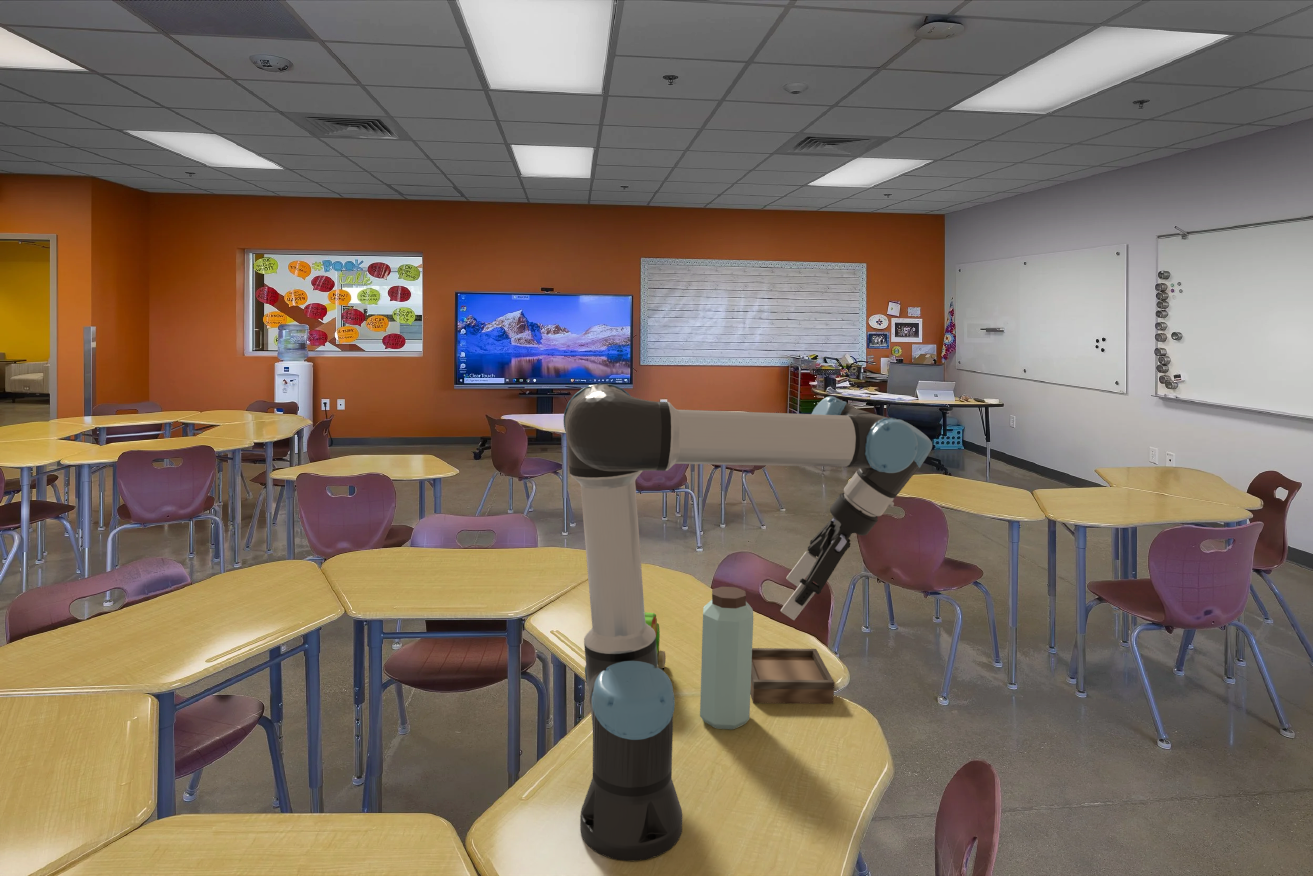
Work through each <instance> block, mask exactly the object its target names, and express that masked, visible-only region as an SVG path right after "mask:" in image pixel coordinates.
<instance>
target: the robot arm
mask: <svg viewBox="0 0 1313 876" xmlns="http://www.w3.org/2000/svg"><path fill="white" fill-rule="evenodd" d="M563 428H564V432H565V435H566V446H567V447H566V448H567V461H568V469H569V471H568V472H569V475H570V478H572V479H573V480H574V481H576V482H577V483H578V484H579V485H580V494H581V496H580V497H581V498H580V499H581V506H582V507H581V508H582V509H581V510H582V519H583V531H584V544H585V555H586V566H587V579H588V581H587V582H588V591H589V593H588V594H589V605H590V616H591V626H592V627H591V629H590V630H588V632H587V633H586V634H585V635H584V638H583V643H584V644H583V645H584V657H585V667H584V674H585V675H584V677H585V683H586V685H587V690H588V697H589V705H590V715H591V721H592V779H591V781H590V783H589V786H588V790H587V792H586V795H585V798H584V801H583V803H582V805H581V806H582V807H581V809H580V816H579V818H580V822H579V826H580V827H579V828H580V829H579V830H580V835H581V837H582V839H583V841H584V842H585V844H586V845H587V846H588V847H589V848H590V849H591V850H593V851H594V852H595V853H597V854H600V855H601V856H604V857H606V858H610V859H614V860H618V861H627V862H629V861H630V862H631V861H632V862H634V861H644V860H649V859H652V858H655V857H659V856H661V855H663V854H665V853H666V852H668V851H670V850H671V849H672V848H673V847H674V846H675V845H676V844H678V843H677V842H678V841H679V840H680V838H681V835H682V833H683V809H682V807H681V804H680V800H679V797H678V794H677V791H676V788H675V785H674V782H673V778H672V776H673V775H672V773H673V772H672V769H673V767H672V766H673V735H674V734H673V732H674V731H673V730H674V713H675V705H676V703H675V699H676V698H675V694H674V686H673V683H672V681H671V679H670V677H669V675H668V674H667V673H666V672H665V671H664V670H663V669H662V668H658V660H657V647H656V634H655V631H654V629H653V628H651V627H650V626H649V625H648V624H646V623H645V612H646V611H645V598H644V585H643V571H642V557H641V542H640V532H639V531H640V530H639V516H638V501H637V487H636V480H637V478H638V477H639V476H640V475H641V473H643V472H645V471H646V472H648V471H660V472H661V471H662V472H665V471H669V469H671V468H672V467H673V466H674V465H676V464H678V465H679V464H680V465H684V464H687V465H725V466H726V465H731V466H733V465H735V466H736V465H737V466H742V465H743V466H778V467H779V466H783V467H786V466H787V467H836V468H839V467H841V468H842V467H843V468H856V469H857V468H858V469H857V470H856V471H855V473H854V474H853V475H852V476H851V478H850V480H849V481H848V482H847V484H846V485H845V486H844V488H843V492H841V493H840V494H839V495H838V496H837V498H836V499H835V500H834V501H833V503H832V504H831V505H830V508H829V513H830V514H831V516H832V517H831V519H830V520H829V521H828V522H827V523H826V524H824V526H823V527H822V528H821V529H820V530H819V531H818V533H816V534H815V535H814V537H813V538H812V539H811V540H810V541H809V545H808V546H807V550H806V551H805V552H804V553H803V555H802V556H801V557H800V558H799V560H798V561H797V563H796V564H795V565H794V567H793V568H792V569H791V571H790V572H789V573H788V574H787V576H786V577H785V578H786V579H785V580H787V581H788V582H789V583H791V584H793V585H794V586H796V589H795V590H794V591H793V593H792V594H791V595H790V596H789V598H788V599H787V601H786V602H785V603H784V605H783V606H782V607H781V609H780V612H781V613H782V614H784V615H785V616H787V617H788V618H790V619H791V620H793V621H795V620H796V618H797V617H798V616H799V615H800V613H802V611H803V610H804V609H805V607H807V604H808V603H809V602H810V600H811V599H812V598H813V597H814V596H815V594H816V595H820V593H821V592H822V591H823V588H824V587H825V585H826V584H827V582H828V580H829V579H830V577H831V576H832V574H833V572H834V570H836V567H837V566H838V564H839V562H840V561H841V560H842V557H844V555H845V553H846V552H847V550H848V549H849V548H850V547H851V539H850V537H851V536H852V535H853V534H856V535H858V536H867V535H868V534H870V533H869V532H871V530H872V529H873V527H874V526H875V525H876V524H877V522H878V521H879V519H878V517H881V516H882V515H883V514H884V513H885V512H886V510H887V508H888V507H889V508H892V507H894V505H895V502H894V500H895V499H896V497H897V496H898V495H899V494H900V493H901V491H902V490H903V488H905V486H906V485H907V483H908V482H909V481H910V480H911V479H912V478H913V476H914V474H915V473H916V472H917V471H918V470H919V469H921V467H922V465H923V463H924V462H925V461H926V459H927V457H928V456H929V455H930V452H931V450H932V449H933V443H932V440H931V439H930V438H929V437H928V436H927V435H926V434H925V433H924V432H922V431H921V430H920V429H918V428H917V427H916V426H913V425H912V424H910V423H908V422H907V421H904V420H903V419H897V418H895V417H886V416H883V415H879V414H874V413H872V412H869V411H865V410H863V409H862V410H861V409H858V408H856V407H853V406H852V405H850V404H849V403H848V402H847V401H843V400H841V399H839V398H838V397H835V396H832V395H829V396H826V397H825V398H823V399H821V401H819V402H818V404H816V406H814V408H813V410H812V412H811V413H783V412H759V411H758V412H757V411H756V412H753V411H727V410H726V411H725V410H724V411H722V410H701V409H699V410H698V409H697V410H696V409H695V410H694V409H693V410H692V409H677V408H676V407H675V406H673V404H672V403H671V402H670V401H654V400H646V399H642V398H638V397H634V396H631V394H630V393H629V392H627V391H626V389H624V388H622V387H621V386H617V385H615V384H611V383H596V384H591V385H588V386H586V387H583V388H582V389H580V390H579V391H577V392H576V393H575V394H573V396H572V397H571V398H570V400H569V401H568V402H567V405H566V407H565V409H564V413H563Z"/></svg>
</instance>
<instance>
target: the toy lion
mask: <svg viewBox="0 0 1313 876" xmlns="http://www.w3.org/2000/svg"><path fill="white" fill-rule="evenodd" d="M645 623H646V624H648V625H649V626H650V627H651V628H653V629H654V631H655V634H656V647H657V660H658V668H660V669H662V668H664V669H665V665H666V659H667V657H666V656H667V655H666V651H665V650H660V635H661V634H660V625H659V623H658V619H657V614H656V613H655V612H646V611H645Z"/></svg>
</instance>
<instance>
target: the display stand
mask: <svg viewBox="0 0 1313 876" xmlns="http://www.w3.org/2000/svg"><path fill="white" fill-rule="evenodd" d="M834 693H835V680H834V679H833V677H832V675H831V673H830V671H829V670H828V668H827V666H826V664H825V663H824V660H823V658H822V657H821V655H820V653H819V652H818V650H817V648H781V647H779V648H778V647H777V648H769V647H767V648H766V647H765V648H763V647H758V648H756V647H755V648H754V647H752V666H751V691H750V699H751V700H752V703H753V704H796V705H797V704H803V705H804V704H808V705H809V704H812V705H814V704H816V705H818V704H819V705H820V704H821V705H822V704H823V705H824V704H825V705H828V704H829V705H831V704H832V705H833V704H834V699H835V698H834V697H835V696H834V695H835V694H834ZM833 696H834V697H833Z"/></svg>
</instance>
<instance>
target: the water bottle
mask: <svg viewBox="0 0 1313 876" xmlns="http://www.w3.org/2000/svg"><path fill="white" fill-rule="evenodd" d="M711 591H712V592H711V599H710V601H708V602H707V603H706V604H705V605H704V606H703V608H702V609H703V610H702V634H701V635H702V637H701V638H702V640H701V668H700V672H701V673H700V698H699V699H700V704H699V705H700V707H699V717H700V718H701V720H702V721H703V722H704V723H705V724H707V725H709V726H711V727H713V728H714V729H721V730H734V729H737V728H739V727H742V726H744V725H746V723H748V721H749V720H750V712H751V695H750V691H751V666H752V648H753V635H754V634H753V633H754V632H753V631H754V610H753V607H751V605H750V604H749V603H748V602H747V600H746V599H747V595H746V590H744V589H741V588H739V587H735V586H720V587H716V588H712V590H711Z"/></svg>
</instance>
